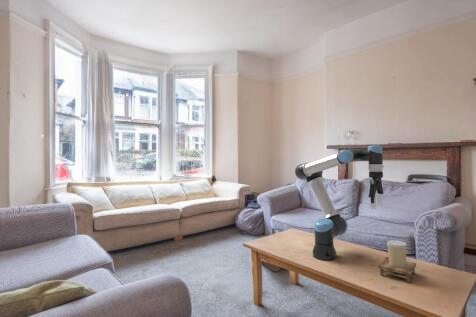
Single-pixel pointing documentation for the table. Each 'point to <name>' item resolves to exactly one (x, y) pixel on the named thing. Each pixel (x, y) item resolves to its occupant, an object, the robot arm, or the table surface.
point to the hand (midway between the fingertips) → (376, 206)
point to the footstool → (397, 269)
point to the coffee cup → (397, 253)
